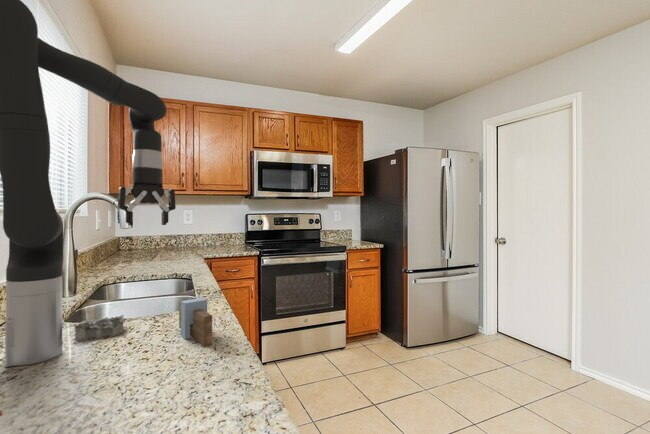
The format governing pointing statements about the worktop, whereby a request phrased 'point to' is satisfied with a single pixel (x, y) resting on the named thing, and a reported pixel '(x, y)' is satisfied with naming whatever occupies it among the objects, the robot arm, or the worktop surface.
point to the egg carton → (99, 327)
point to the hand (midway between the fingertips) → (147, 225)
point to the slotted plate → (200, 326)
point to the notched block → (190, 314)
